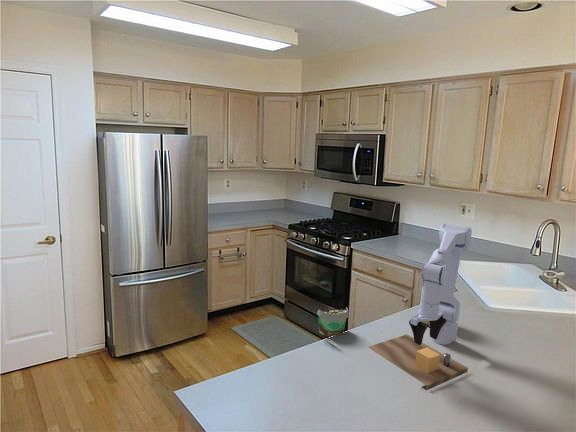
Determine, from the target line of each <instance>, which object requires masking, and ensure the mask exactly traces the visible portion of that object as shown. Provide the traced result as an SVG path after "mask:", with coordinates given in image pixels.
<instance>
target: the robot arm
mask: <svg viewBox="0 0 576 432" xmlns="http://www.w3.org/2000/svg"><path fill="white" fill-rule="evenodd" d="M438 238H439V241H440V245H439V248H436V249H434V250H433V252H432V254H431V256H430V258H429V260H428V262H427V263H424V264H423V266H422V267H421V271H420V280H421V281H420V286H421V296H420V305H419V309H416V314H414V316H411V317H410V320H409V321H408V322H409V323H408V325H409V326H410V329H411V330H412V335H413V338H414V342H415V343H416V344H418V345H421V344H422V343H423V339H424V335H425V333H426V330H427V329H428V327H427V325H426V326H425V324H423V323H422V322H424V321H429V322H430V326H429V339H430V341H432V342H433V343H435V344H439V345H449V344H451V343H452V342H457V336H458V329H459V327H458V324H457V322H458V321H459V317H460V310H461V309H460V307H461V304H460V301H459V300H458V299H457V297H455V296H454V293H455V287H456V284H457V278H458V272H459V267H460V263H461V262H460V261H461V257H462V254H463V252H467V251H468V250H469V248H470V246H471V239H472V228H471V227H470V226H468V227H467V226H460V225H453V224H447V223H443V224H441V226H440V228H439V234H438ZM440 301H443V302H446V303H450V304H452V305H450V304H446V303H442V302H440Z"/></svg>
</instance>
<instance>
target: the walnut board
mask: <svg viewBox="0 0 576 432" xmlns="http://www.w3.org/2000/svg"><path fill="white" fill-rule="evenodd" d="M367 348H369V349H370V350H371V351H373V352H374V353H377V354H378V355H379V356H381V357H382V358H384V359H385V360H387V361H389V362H390V363H391V364H393V365H395V366H396V367H397V368H398V369H401V370H402V371H404V372H405V373H406V374H409V375H410V376H411V377H413V378H414V379H416V380H417V381H419V382H421V383H422V384H423V386H421V388H422V389H424V390H425V391H428V390H430V389H432V388H435V387H437V386H439V385H441V384H444V383H447V382H448V381H450V380H452V379H455V378H457V377H459V376H462V375H463V374H466V373H468V370H469V367H468V366H465V365H463V364H461V362H458V361H457V360H454V359H453V358H451V357H450V365H449V366H448V367H446V366H444V365H443V358H444V354H445V353H442V352H440V351H438V350H436V349H435V348H432V347H431V346H429V345H427V344H425V343H424V342H422V344H421V345H418V344H416V343H415V342H414V336H413V337H412V336H410V335H409V334H403V335H400V336H397V337H394V338H391V339H388V340H385V341H382V342H378V343H376V344H373V345H368V346H367ZM424 348H429V349H431V350H432V351H434V352H436V353H438V354H440V358H439V366H438V369H437V370H435V371H432V372H430V373H426V372H425V371H423V370H422V369H420V368H418V367H417V366H415V360H416V351H418V350H421V349H424Z"/></svg>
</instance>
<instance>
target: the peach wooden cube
mask: <svg viewBox="0 0 576 432" xmlns="http://www.w3.org/2000/svg"><path fill="white" fill-rule="evenodd" d="M439 358H440V354H438V353H436V352H434V351H432V350H431V349H429V348H424V349H421V350H418V351H416V360H415V366H417V367H418V368H420V369H422V370H423V371H425V372H426V373H430V372H432V371H435V370H437V369H438V366H439Z"/></svg>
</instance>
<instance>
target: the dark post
mask: <svg viewBox="0 0 576 432" xmlns="http://www.w3.org/2000/svg"><path fill="white" fill-rule="evenodd" d="M443 354H444V358H443V365H444V366H446V367H448V366H449V365H450V358H451V354H449V353H443Z"/></svg>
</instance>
